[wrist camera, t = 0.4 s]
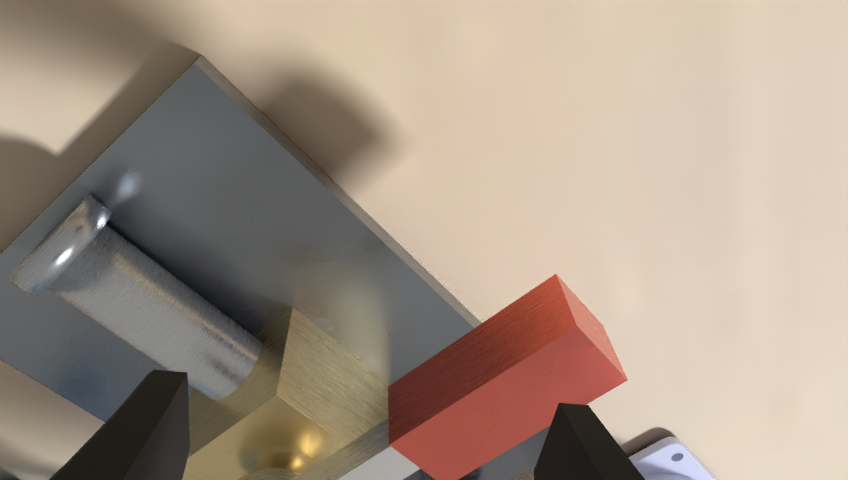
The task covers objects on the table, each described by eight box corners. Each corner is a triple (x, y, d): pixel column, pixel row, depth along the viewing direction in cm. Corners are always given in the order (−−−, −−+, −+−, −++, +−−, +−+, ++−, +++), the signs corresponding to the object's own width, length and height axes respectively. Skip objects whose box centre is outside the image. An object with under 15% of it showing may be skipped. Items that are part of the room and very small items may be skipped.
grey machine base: (583, 421, 27) (620, 527, 23) (353, 554, 31) (348, 666, 27) (201, 55, 18) (148, 118, 14) (-52, 304, 22) (-153, 413, 18)
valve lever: (279, 525, 21) (268, 598, 19) (212, 484, 20) (193, 558, 18) (604, 322, 17) (633, 386, 15) (545, 257, 16) (569, 317, 14)
